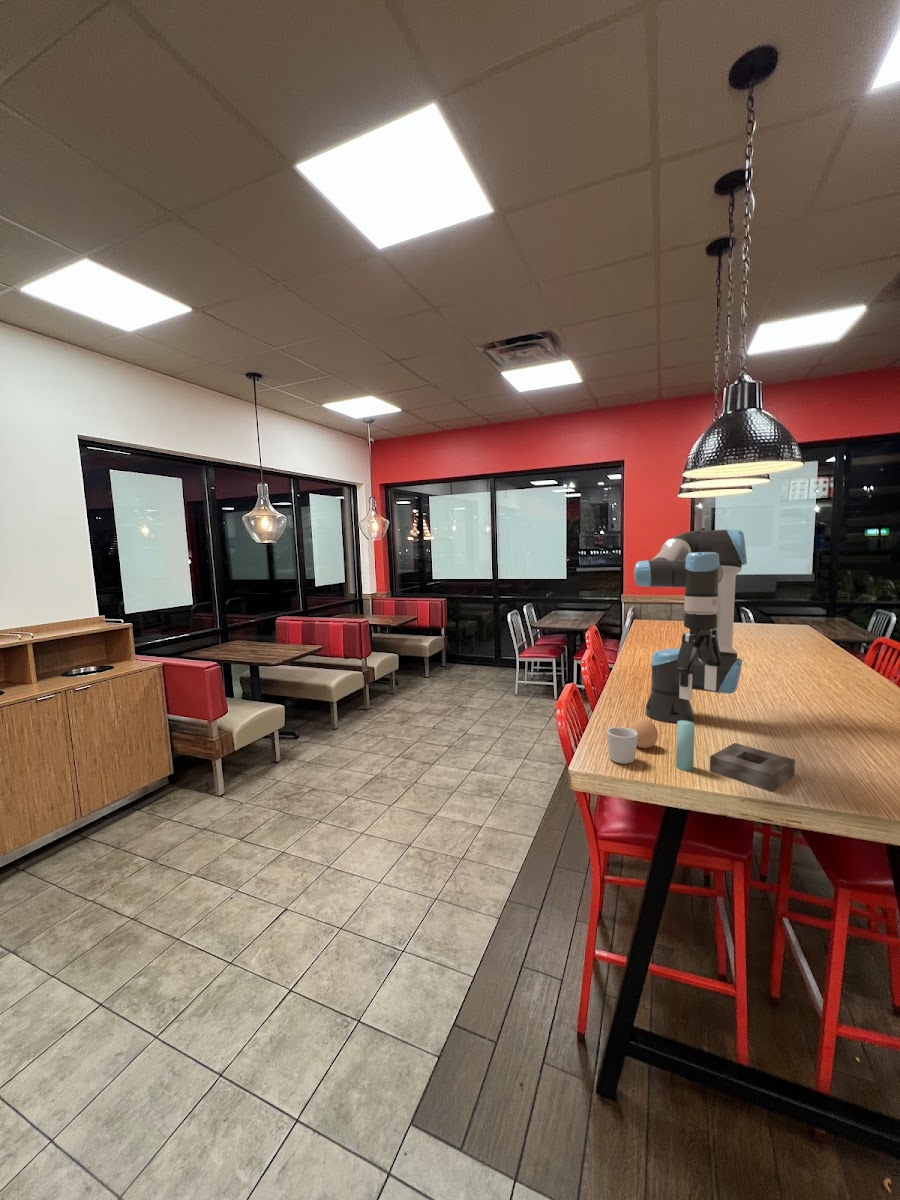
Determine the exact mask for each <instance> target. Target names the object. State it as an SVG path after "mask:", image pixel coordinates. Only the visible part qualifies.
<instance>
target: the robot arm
mask: <svg viewBox="0 0 900 1200" xmlns="http://www.w3.org/2000/svg"><path fill="white" fill-rule="evenodd" d="M744 534H745V533H744V532H743V531H742V530H741V529H714V530H713V529H712V530H693V531H686V532H683V533H681V534H678V535H675V536H672V537H671V538H669V539H668V540H667V541H665V542H664V543H663V544H662V546H661V548H660V551H659V552H658V553H657V554H656V555H655V556H654V557H653V558H652V559H651V560H649V559H645V560H640V561H639V560H638V561H637V562H636V563H635V566H634V571H633V577H634V579H633V580H634V583H635V584H636V586H638V587H645V588H646V587H647V588H685V592H684V603H683V605H684V609H683V610H684V611H685V613H684V615H683V617H684V618H683V626H684V627H685V628H687V629H689V631H688V632H689V633H686V632H683V633H682V637H681V644H680V647H679V648H665V649H659V650H656V651H655V652H653V654H652V656H651V657H652V658H651V664H650V665H651V689H650V690H651V691H650V695H649V698H648V700H647V703H646V705H645V715H646V716H647V717H648V718H651V719H654V720H657V721H659V722H665V723H676V724H677V722H678V721H681V720H685V721H690V722H693V720H694V710H693V707H692V703H691V701H692V697H693V696H692V693H693V692H692V691H693V690H695V691H703V692H709V693H717V694H734V693H735V692H736V691H737V688H738V685H739V681H740V677H741V673H742V672H741V671H742V666H743V659H741V658H740V657H738V652H737V651H736V650H735V649H734V646H733V638H734V637H733V636H734V619H735V617H734V616H735V601H736V600H735V598H736V579H737V577H736V576H737V575H738V574H739V573H740V572H741V571H742V566H745V565H747V564H748V561H747V560H748V559H747V551H746V550H747V548H746V541H745V535H744Z"/></svg>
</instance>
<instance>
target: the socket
mask: <svg viewBox="0 0 900 1200" xmlns="http://www.w3.org/2000/svg"><path fill="white" fill-rule="evenodd" d="M709 758H710V759H709V763H710V764H709V771H710V772H711V773H715V774H717V775H721V776H723V777H726V778H729V779H733V780H735V781H739V782H742V783H745V784H748V785H750V786H753V787H757V788H759V789H763V790H764V791H765V790H766V791H768V792H771V793H773V792H774V791H775V790H777V789H778V788H779V787H781V786H782V785H783V784H785V782H787V781H789V779H791V778H793V777H794V776H795V768H796V767H795V763H796V759H794V758H791V757H788V756H787V757H786V756H784V755H783V756H782V755H779V754H777V753H772V752H769V751H765V750H762V749H759V748H754V747H751V746H747V745H743V744H740V743H736V742H734V743H732V744H730V745H728V746H726V747H724V748H723V749H721V750H719V751H717V752H715V753H713V754H712V755H710V757H709Z"/></svg>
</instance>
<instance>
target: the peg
mask: <svg viewBox="0 0 900 1200" xmlns="http://www.w3.org/2000/svg"><path fill="white" fill-rule="evenodd" d="M676 724H677V726H676V731H677V732H676V759H675V760H676V763H675V766H676V768H677V769H678V770H681V771H684V772H685V771H686V772H691V771H693V770H694V756H695V753H694V752H695V751H694V750H695V723H694V722H693V721H685V720H681V721H678V722H677V723H676Z"/></svg>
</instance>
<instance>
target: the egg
mask: <svg viewBox="0 0 900 1200" xmlns="http://www.w3.org/2000/svg"><path fill="white" fill-rule="evenodd" d="M656 727H657V726H656V725H655V724H654V723H653V722H652V721H651V720H650V719H649V718H643V717H641V718H639V719H637V720H635V722H634V723H633V724H632V726H631V728H630V729H632V730H635V731H636V732H637V733H638V739H637V747H639V748H640V749H649V748H651V747H653V746H654V745H656V743H657V741H658V740H659V733H658V728H656Z"/></svg>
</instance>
